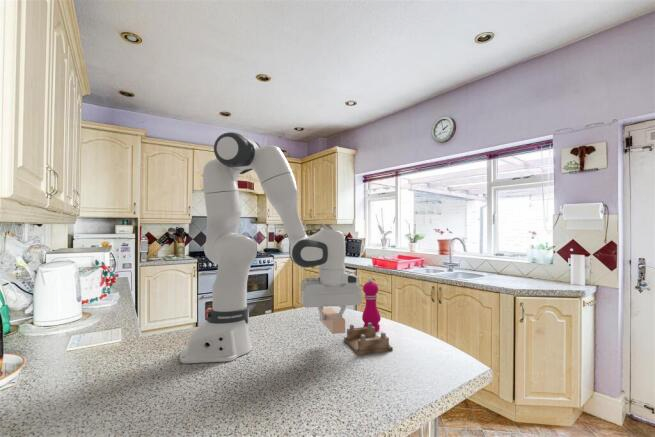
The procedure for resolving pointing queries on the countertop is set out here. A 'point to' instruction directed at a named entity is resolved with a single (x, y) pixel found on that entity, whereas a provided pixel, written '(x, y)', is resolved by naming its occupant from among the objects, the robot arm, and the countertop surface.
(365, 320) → the pepper mill
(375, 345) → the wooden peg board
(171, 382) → the countertop surface
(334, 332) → the peach rectangular block
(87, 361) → the countertop surface
